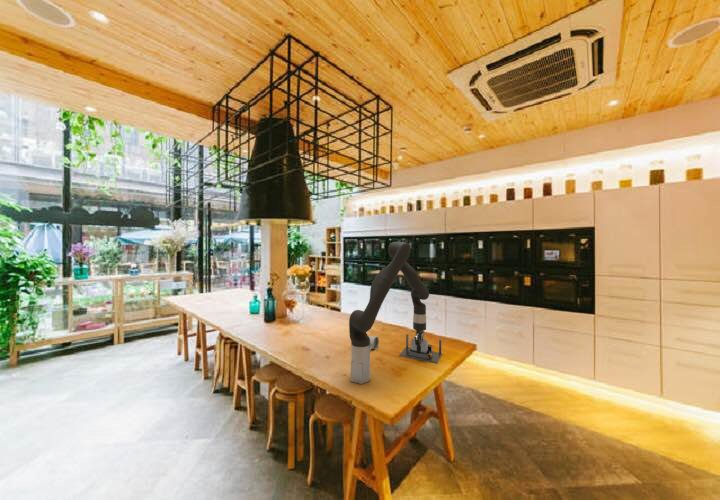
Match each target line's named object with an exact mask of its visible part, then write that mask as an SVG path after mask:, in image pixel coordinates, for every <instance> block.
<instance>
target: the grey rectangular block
mask: <svg viewBox="0 0 720 500" xmlns="http://www.w3.org/2000/svg"><path fill="white" fill-rule="evenodd" d="M420 340H421V339H420ZM428 342H429V339H422V341H421V351H420V352H418V353H423V354H428V345H429V343H428ZM410 343H411V344H410V346H411V351H413V352H417V345H415V338H414V337H412V338H411V341H410Z"/></svg>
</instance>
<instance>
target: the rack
mask: <svg viewBox="0 0 720 500" xmlns="http://www.w3.org/2000/svg"><path fill="white" fill-rule="evenodd" d="M409 339H410V338H409V334H406V335H405V347H404V349H403V350H402V351H401V352H400V353H399V354H398V355H399V357H402V358H406V359H412V360H418V361H422V362H428V363H433V364H438V363H439V360H440V359H441V357H442V355H443V352H442V343H443V342H442V339H440V338H439V339H438V351H433V345H432V344H428V354H423V353H418V352H413V351H411V347H410V346H409Z"/></svg>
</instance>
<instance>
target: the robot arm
mask: <svg viewBox="0 0 720 500" xmlns="http://www.w3.org/2000/svg"><path fill="white" fill-rule="evenodd" d="M411 250H412V247H411V245H410V243H409V242H404V241H393V242H391V243H389V245H388V248H387V252H388V255H389V257H390V258H391V259H392V260H391V261H390V263H389V264H387V265H386V266H385V267H384V268H382V269H381V270H380V271H379V272H378V273H377V274H376V276H375V278H374V279H373V281H372V283H371V286H370V291H369V292H370V294H369V300H368V303H367V305H366V306H365V308H364V310H361V309H355V310H353V311H352V312H351V313H350V316H349V321H348V330H349V331H348V332H349V339H350V345H351V346H350V347H351V349H350V351H351V352H350V383H351V382H353V383H355V384H359V385H363V384H365V383H367V382H369V381H370V379H371V350H370V338H369V336H370V335H368V334H367V332H369V331H371V329H372V328H373V325H374V324H375V321H376V319H377V316H378V314H379V311H380V309H381V307H382V305H383V303H384V300H385V299H386V297H387V295H388V293H389V291H390V290H391V287H392V286H393V283H394V281H395V280H396V278H397V276H398V275H399V272H401V273H402V274H403V276H404V278H405V279H406V282H407V285H408V286H409V288H411V290H410V297H411V301H412V305H413V316H412V317H413V318H412V328H413V330H415V332H414V333H415V335H414V337H413V338H415V345H417V352H420V351H421V341H422V339H424V338H425V337H424V336H425V331H426V330H427V305H426V304H425V303H424V302H422V301H426V300H428V298H429V296H430V291H429V288H428V287H427V286H426V285H425V284H424V283H423V282H422V280H421V279H420V276H419V275H418V273H417V271H416V269H415V268H413V267H412V266H411V264H410V263H408V261H407V260H408V259H409V257H410V255H411ZM421 300H422V301H421ZM420 339H421V340H420Z"/></svg>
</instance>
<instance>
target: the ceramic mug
mask: <svg viewBox="0 0 720 500" xmlns="http://www.w3.org/2000/svg"><path fill="white" fill-rule="evenodd" d="M368 336H369V338H370V351H371V350H377V349H378V348H379V344H380V343H379V342H380V339H379V337H378V336H377V335H376V336H374V335H368Z"/></svg>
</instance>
